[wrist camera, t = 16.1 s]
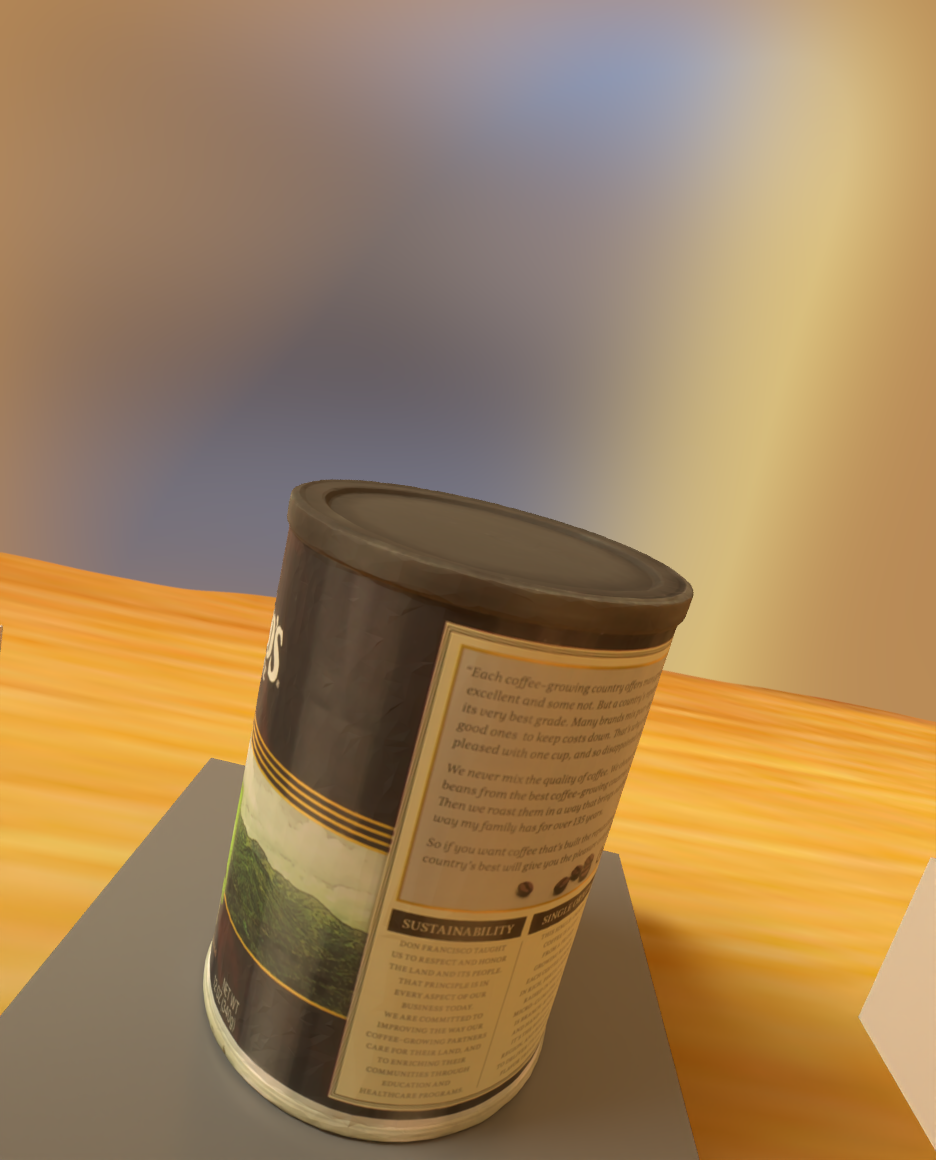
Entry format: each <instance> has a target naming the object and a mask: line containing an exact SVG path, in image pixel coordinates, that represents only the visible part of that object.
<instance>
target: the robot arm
mask: <svg viewBox="0 0 936 1160" xmlns="http://www.w3.org/2000/svg"><path fill="white" fill-rule="evenodd" d="M2 630H3V626H1V625H0V650H1V640H2ZM859 1019H860V1021H861V1023H862V1024H863V1026H864V1028H865V1030H866V1031H867V1033H868V1035H869V1037H870V1038H871V1040H872V1042H873V1043H874V1045H875V1047H876V1049H877V1050H878V1052H879V1054H880V1056H881V1057H882V1059H883V1061H884V1062H885V1064H886V1066H887V1068H888V1069H889V1071H890V1073H891V1075H892V1076H893V1078H894V1080H895V1082H896V1083H897V1085H898V1087H899V1088H900V1090H901V1092H902V1094H903V1095H904V1097H905V1099H906V1101H907V1102H908V1104H909V1106H910V1107H911V1109H912V1111H913V1113H914V1114H915V1116H916V1118H917V1120H918V1121H919V1123H920V1125H921V1127H922V1128H923V1130H924V1132H925V1133H926V1135H927V1137H928V1139H929V1140H930V1142H931V1144H932V1146H933V1147H934V1149H935V1151H936V858H932V857H931V858H930V860H929V862H928V865H927V867H926V869H925V871H924V873H923V876H922V878H921V880H920V882H919V884H918V887H917V889H916V891H915V893H914V896H913V898H912V900H911V902H910V904H909V907H908V909H907V911H906V913H905V915H904V918H903V920H902V922H901V924H900V926H899V929H898V931H897V933H896V935H895V937H894V940H893V942H892V944H891V946H890V948H889V951H888V953H887V955H886V957H885V959H884V962H883V964H882V966H881V968H880V970H879V973H878V975H877V977H876V979H875V981H874V984H873V986H872V988H871V990H870V992H869V995H868V997H867V999H866V1001H865V1003H864V1006H863V1008H862V1010H861V1012H860V1014H859Z"/></svg>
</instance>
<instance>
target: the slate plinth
mask: <svg viewBox="0 0 936 1160" xmlns="http://www.w3.org/2000/svg"><path fill="white" fill-rule="evenodd" d="M244 771H245V766H243V765H239V764H235V763H231V762H227V761H222V760H218V759H214V758H211V759H210V760H209V761H208V762H207V764H206V765H205V766H204V767H203V768H202V770H201V771H200V772H199V773H198V775H197V776H196V777H195V778H194V779H193V781H192V782H191V783H190V784H189V786H188V787H187V788H186V789H185V790H184V792H183V793H182V794H181V795H180V797H179V798H178V799H177V800H176V801H175V803H174V804H173V805H172V806H171V808H170V809H169V810H168V811H167V813H166V814H165V815H164V816H163V817H162V819H161V820H160V821H159V822H158V824H157V825H156V826H155V827H154V828H153V830H152V831H151V832H150V833H149V835H148V836H147V837H146V838H145V839H144V841H143V842H142V843H141V844H140V846H139V847H138V848H137V849H136V850H135V852H134V853H133V854H132V855H131V857H130V858H129V859H128V860H127V862H126V863H125V864H124V865H123V866H122V868H121V869H120V870H119V871H118V873H117V874H116V875H115V876H114V877H113V879H112V880H111V881H110V882H109V884H108V885H107V886H106V887H105V888H104V890H103V891H102V892H101V893H100V895H99V896H98V897H97V898H96V899H95V901H94V902H93V903H92V904H91V906H90V907H89V908H88V909H87V911H86V912H85V913H84V914H83V915H82V917H81V918H80V919H79V920H78V922H77V923H76V924H75V925H74V926H73V928H72V929H71V930H70V931H69V933H68V934H67V935H66V936H65V937H64V939H63V940H62V941H61V942H60V944H59V945H58V946H57V947H56V948H55V950H54V951H53V952H52V953H51V955H50V956H49V957H48V958H47V960H46V961H45V962H44V963H43V964H42V966H41V967H40V968H39V969H38V971H37V972H36V973H35V974H34V975H33V977H32V978H31V979H30V980H29V982H28V983H27V984H26V985H25V986H24V988H23V989H22V990H21V991H20V993H19V994H18V995H17V996H16V997H15V999H14V1000H13V1001H12V1002H11V1004H10V1005H9V1006H8V1007H7V1009H6V1010H5V1011H4V1012H3V1013H2V1015H1V1016H0V1160H699V1156H698V1152H697V1149H696V1145H695V1141H694V1137H693V1134H692V1130H691V1126H690V1122H689V1118H688V1115H687V1111H686V1107H685V1103H684V1099H683V1096H682V1092H681V1088H680V1084H679V1081H678V1077H677V1073H676V1069H675V1065H674V1062H673V1058H672V1054H671V1050H670V1046H669V1043H668V1039H667V1035H666V1031H665V1028H664V1024H663V1020H662V1016H661V1012H660V1009H659V1005H658V1001H657V997H656V993H655V990H654V986H653V982H652V978H651V975H650V971H649V967H648V963H647V959H646V956H645V952H644V948H643V944H642V940H641V937H640V933H639V929H638V925H637V922H636V918H635V914H634V910H633V906H632V903H631V899H630V895H629V891H628V888H627V884H626V880H625V876H624V872H623V869H622V865H621V861H620V857H619V854H616V853H612V852H608V851H603V852H602V855H601V858H600V861H599V865H598V868H597V872H596V874H595V877H594V880H593V883H592V886H591V889H590V892H589V895H588V898H587V901H586V904H585V907H584V910H583V913H582V916H581V919H580V923H579V926H578V929H577V932H576V935H575V938H574V941H573V944H572V947H571V950H570V953H569V956H568V959H567V962H566V965H565V968H564V971H563V974H562V977H561V981H560V984H559V987H558V990H557V993H556V996H555V999H554V1002H553V1005H552V1008H551V1011H550V1014H549V1017H548V1020H547V1024H546V1030H545V1035H544V1040H543V1045H542V1049H541V1052H540V1055H539V1058H538V1060H537V1063H536V1065H535V1067H534V1069H533V1071H532V1073H531V1076H530V1077H529V1078H528V1080H527V1081H526V1082H525V1084H524V1085H523V1087H522V1088H521V1089H520V1090H519V1092H518V1093H517V1094H516V1095H515V1096H514V1097H513V1098H512V1099H511V1100H510V1101H509V1102H508V1103H506V1104H505V1105H504V1106H502V1107H501V1108H500V1109H499V1110H498V1111H497V1112H496V1113H494V1114H493V1115H492V1116H490V1117H489V1118H488V1119H486V1120H485V1121H483V1122H481V1123H480V1124H477V1125H474V1126H472V1127H469V1128H467V1129H464V1130H462V1131H459V1132H456V1133H453V1134H449V1135H446V1136H442V1137H438V1138H434V1139H428V1140H419V1141H411V1142H380V1141H368V1140H362V1139H357V1138H351V1137H344V1136H340V1135H337V1134H334V1133H331V1132H328V1131H325V1130H322V1129H320V1128H317V1127H315V1126H313V1125H310V1124H308V1123H305V1122H303V1121H301V1120H299V1119H297V1118H295V1117H293V1116H291V1115H290V1114H288V1113H286V1112H284V1111H283V1110H281V1109H280V1108H278V1107H277V1106H275V1105H274V1104H272V1103H271V1102H269V1101H268V1100H267V1099H265V1098H264V1097H263V1096H262V1095H260V1094H259V1093H258V1092H257V1091H256V1090H254V1089H253V1088H252V1087H251V1086H250V1085H249V1084H248V1083H247V1082H246V1081H245V1080H244V1079H243V1078H242V1077H241V1075H240V1074H239V1073H238V1072H237V1071H236V1070H235V1068H234V1067H233V1066H232V1065H231V1063H230V1062H229V1060H228V1059H227V1057H226V1056H225V1054H224V1053H223V1051H222V1049H221V1048H220V1046H219V1045H218V1043H217V1041H216V1039H215V1037H214V1035H213V1032H212V1030H211V1028H210V1023H209V1020H208V1017H207V1014H206V1008H205V1002H204V992H203V977H204V968H205V960H206V957H207V953H208V949H209V947H210V944H211V941H212V939H213V935H214V931H215V924H216V919H217V914H218V909H219V904H220V898H221V893H222V887H223V881H224V878H225V874H226V867H227V862H228V857H229V852H230V846H231V841H232V836H233V830H234V825H235V820H236V814H237V809H238V804H239V798H240V793H241V788H242V782H243V777H244Z"/></svg>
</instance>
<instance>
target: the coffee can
mask: <svg viewBox="0 0 936 1160" xmlns="http://www.w3.org/2000/svg"><path fill="white" fill-rule="evenodd" d="M287 519H288V522H289V532H288V537H287V543H286V548H285V553H284V558H283V564H282V570H281V576H280V581H279V586H278V590H277V598H276V602H275V609H274V614H273V618H272V623H271V629H270V636H269V641H268V644H267V650H266V656H265V661H264V666H263V672H262V677H261V682H260V688H259V693H258V699H257V706H256V711H255V717H254V722H253V729H252V733H251V738H250V744H249V749H248V755H247V760H246V766H245V771H244V777H243V782H242V788H241V793H240V798H239V804H238V809H237V814H236V820H235V825H234V830H233V836H232V841H231V846H230V852H229V857H228V862H227V867H226V874H225V878H224V881H223V887H222V893H221V898H220V904H219V909H218V914H217V919H216V924H215V931H214V935H213V939H212V941H211V944H210V947H209V949H208V953H207V957H206V960H205V968H204V977H203V992H204V1002H205V1008H206V1014H207V1017H208V1020H209V1023H210V1028H211V1030H212V1032H213V1035H214V1037H215V1039H216V1041H217V1043H218V1045H219V1046H220V1048H221V1049H222V1051H223V1053H224V1054H225V1056H226V1057H227V1059H228V1060H229V1062H230V1063H231V1065H232V1066H233V1067H234V1068H235V1070H236V1071H237V1072H238V1073H239V1074H240V1075H241V1077H242V1078H243V1079H244V1080H245V1081H246V1082H247V1083H248V1084H249V1085H250V1086H251V1087H252V1088H253V1089H254V1090H256V1091H257V1092H258V1093H259V1094H260V1095H262V1096H263V1097H264V1098H265V1099H267V1100H268V1101H269V1102H271V1103H272V1104H274V1105H275V1106H277V1107H278V1108H280V1109H281V1110H283V1111H284V1112H286V1113H288V1114H290V1115H291V1116H293V1117H295V1118H297V1119H299V1120H301V1121H303V1122H305V1123H308V1124H310V1125H313V1126H315V1127H317V1128H320V1129H322V1130H325V1131H328V1132H331V1133H334V1134H337V1135H340V1136H344V1137H351V1138H357V1139H362V1140H368V1141H380V1142H411V1141H419V1140H428V1139H434V1138H438V1137H442V1136H446V1135H449V1134H453V1133H456V1132H459V1131H462V1130H464V1129H467V1128H469V1127H472V1126H474V1125H477V1124H480V1123H481V1122H483V1121H485V1120H486V1119H488V1118H489V1117H490V1116H492V1115H493V1114H494V1113H496V1112H497V1111H498V1110H499V1109H500V1108H501V1107H502V1106H504V1105H505V1104H506V1103H508V1102H509V1101H510V1100H511V1099H512V1098H513V1097H514V1096H515V1095H516V1094H517V1093H518V1092H519V1090H520V1089H521V1088H522V1087H523V1085H524V1084H525V1082H526V1081H527V1080H528V1078H529V1077H530V1076H531V1073H532V1071H533V1069H534V1067H535V1065H536V1063H537V1060H538V1058H539V1055H540V1052H541V1049H542V1045H543V1040H544V1035H545V1030H546V1024H547V1020H548V1017H549V1014H550V1011H551V1008H552V1005H553V1002H554V999H555V996H556V993H557V990H558V987H559V984H560V981H561V977H562V974H563V971H564V968H565V965H566V962H567V959H568V956H569V953H570V950H571V947H572V944H573V941H574V938H575V935H576V932H577V929H578V926H579V923H580V919H581V916H582V913H583V910H584V907H585V904H586V901H587V898H588V895H589V892H590V889H591V886H592V883H593V880H594V877H595V874H596V872H597V868H598V865H599V861H600V858H601V855H602V852H603V849H604V845H605V842H606V839H607V837H608V834H609V831H610V828H611V825H612V822H613V818H614V815H615V812H616V809H617V806H618V803H619V800H620V797H621V794H622V791H623V788H624V785H625V782H626V779H627V776H628V773H629V770H630V767H631V764H632V761H633V758H634V755H635V752H636V749H637V746H638V743H639V740H640V737H641V734H642V731H643V728H644V725H645V722H646V718H647V715H648V712H649V709H650V706H651V703H652V700H653V697H654V694H655V691H656V688H657V685H658V681H659V678H660V675H661V672H662V669H663V666H664V663H665V660H666V657H667V655H668V652H669V649H670V646H671V642H672V639H673V636H674V633H675V630H676V628H677V626H678V625H679V624H680V623H681V622H682V621H683V620H684V618H685V617H686V614H687V611H688V609H689V606H690V603H691V600H692V598H693V589H692V587H691V585H690V583H689V582H687V581H686V580H685V579H684V578H683V577H682V576H680V575H679V574H678V573H677V572H675V571H674V570H672V569H671V568H670V567H668V566H666V565H665V564H663V563H661V562H659V561H657V560H655V559H653V558H651V557H650V556H648V555H646V554H643V553H641V552H639V551H637V550H635V549H633V548H631V547H628V546H626V545H623V544H621V543H618V542H616V541H613V540H610V539H608V538H606V537H604V536H601V535H598V534H595V533H592V532H589V531H587V530H584V529H581V528H577V527H574V526H571V525H568V524H565V523H562V522H559V521H556V520H553V519H549V518H546V517H542V516H539V515H536V514H532V513H528V512H525V511H521V510H517V509H514V508H509V507H505V506H502V505H499V504H495V503H490V502H486V501H482V500H477V499H473V498H468V497H463V496H458V495H454V494H449V493H444V492H439V491H431V490H428V489H421V488H417V487H412V486H405V485H397V484H389V483H379V482H373V481H361V480H359V481H358V480H320V481H313V482H309V483H304V484H301V485H299V486H297V487H295V488H294V489H293V490H292V493H291V496H290V501H289V507H288V514H287Z"/></svg>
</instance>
